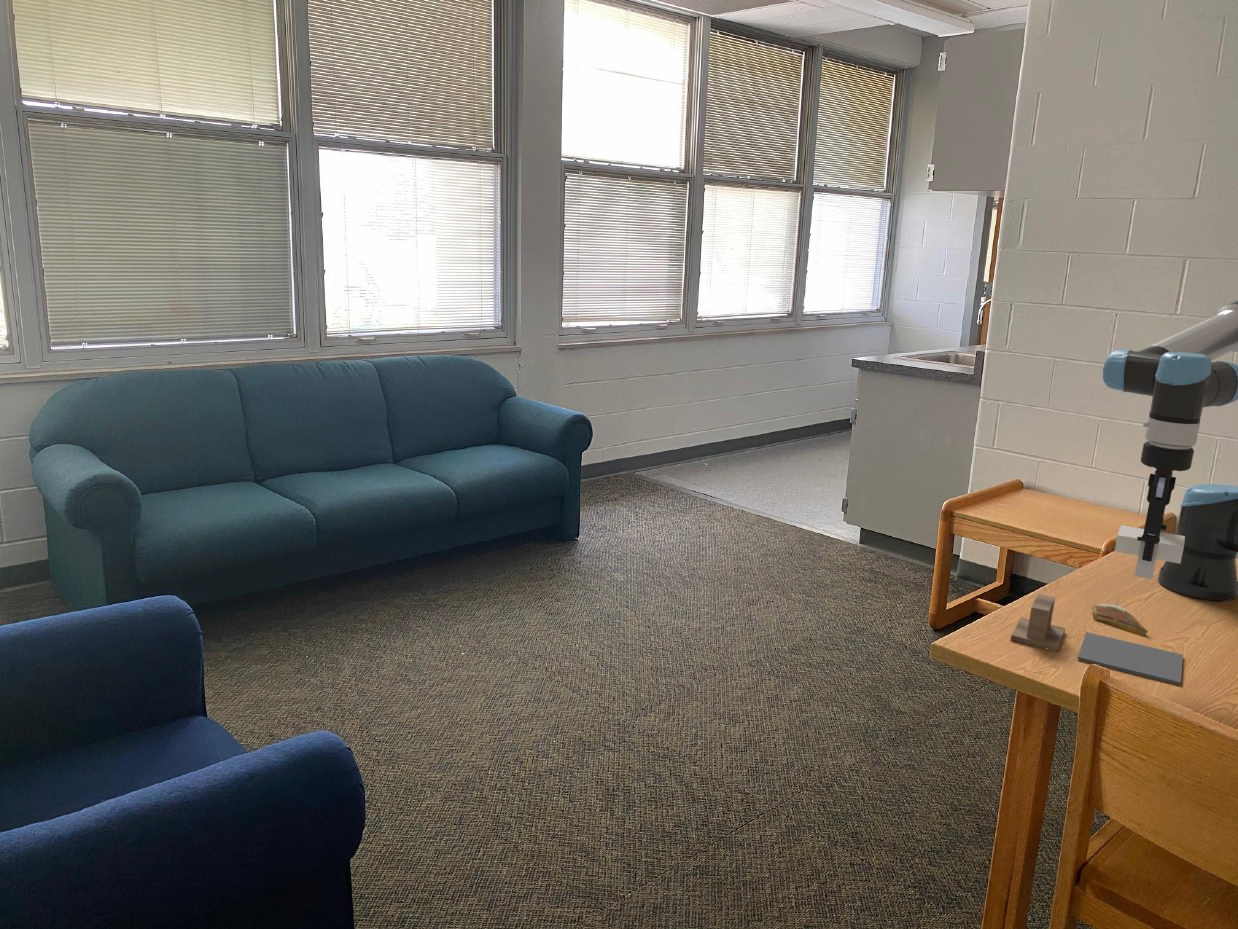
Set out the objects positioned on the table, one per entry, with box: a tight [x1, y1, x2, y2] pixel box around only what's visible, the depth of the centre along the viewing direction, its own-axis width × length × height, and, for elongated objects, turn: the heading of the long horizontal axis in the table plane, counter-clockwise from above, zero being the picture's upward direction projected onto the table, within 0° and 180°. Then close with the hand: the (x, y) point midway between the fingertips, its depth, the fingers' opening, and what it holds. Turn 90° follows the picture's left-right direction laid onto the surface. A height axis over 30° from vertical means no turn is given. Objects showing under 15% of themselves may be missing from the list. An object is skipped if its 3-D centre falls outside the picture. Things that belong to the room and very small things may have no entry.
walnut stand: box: [1010, 593, 1066, 652], centre depth 175 cm, size 10×8×7 cm
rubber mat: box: [1077, 631, 1184, 686], centre depth 168 cm, size 16×13×1 cm
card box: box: [1114, 524, 1185, 564], centre depth 162 cm, size 10×7×3 cm
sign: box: [1098, 597, 1128, 612], centre depth 193 cm, size 5×1×15 cm
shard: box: [1090, 605, 1149, 636], centre depth 183 cm, size 11×8×2 cm
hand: (1144, 570), depth 164 cm, fingers closed on card box, 7 cm apart
